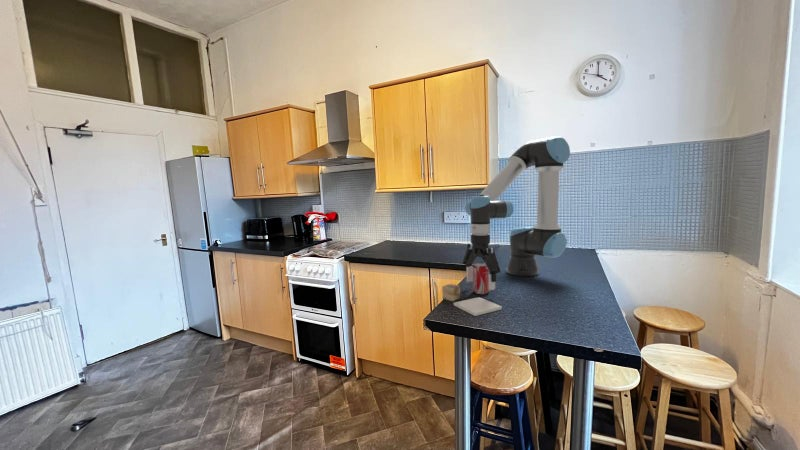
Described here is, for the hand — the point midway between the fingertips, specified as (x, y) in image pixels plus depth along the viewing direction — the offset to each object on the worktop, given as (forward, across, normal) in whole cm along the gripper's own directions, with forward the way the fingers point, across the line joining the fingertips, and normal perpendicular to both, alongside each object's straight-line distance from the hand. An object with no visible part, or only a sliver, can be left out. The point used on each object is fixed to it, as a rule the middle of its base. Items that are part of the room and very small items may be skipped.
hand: (480, 285), depth 130 cm
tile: (+3, +12, -12) cm, 17 cm away
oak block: (+4, -1, -14) cm, 14 cm away
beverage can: (+3, 0, 0) cm, 3 cm away
